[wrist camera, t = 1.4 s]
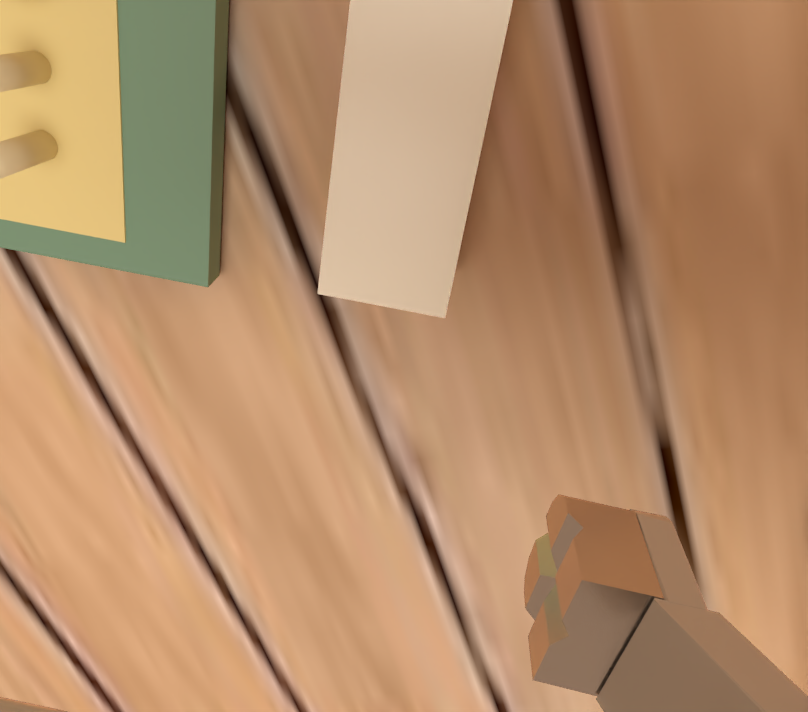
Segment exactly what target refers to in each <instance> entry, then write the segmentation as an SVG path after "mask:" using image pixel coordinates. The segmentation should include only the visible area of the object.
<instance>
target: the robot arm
mask: <svg viewBox="0 0 808 712" xmlns="http://www.w3.org/2000/svg"><path fill="white" fill-rule="evenodd" d="M546 519H547V526H548V533H547V534H545V535H544V536H542V537H540V538H539V539H537V540H536V541H535V543H534V546H533V549H532V551H531V554H530V556H529V559H528V564H527V569H526V574H525V583H524V598H525V608H526V610H527V611H528V612H529V614H530V615H531V616H532V617H533V619H534V620H535V622H534V624H533V626H532V628H531V630H530V633H529V635H528V640H529V649H530V659H531V668H532V677H533V680H535V681H539V682H543V683H547V684H551V685H555V686H559V687H563V688H567V689H571V690H575V691H579V692H583V693H587V694H591V695H595V696H597V698H596V700H597V701H598V703H599V705H600V706H601V708H602V709H603V711H604V712H808V696H807V695H806V694H805V693H804V692H803V691H802V690H801V689H799V688H798V687H797V686H796V685H795V684H794V683H793V682H792V681H791V680H790V679H789V678H788V677H787V676H786V675H785V674H784V673H783V672H781V671H780V670H779V669H778V668H777V667H776V666H775V665H774V664H773V663H772V662H771V661H770V660H769V659H768V658H767V657H766V656H764V655H763V654H762V653H761V652H760V651H759V650H758V649H757V648H756V647H755V646H754V645H753V644H752V643H751V642H750V641H749V640H748V639H746V638H745V637H744V636H743V635H742V634H741V633H740V632H739V631H738V630H737V629H736V628H735V627H734V626H733V625H732V624H731V623H730V622H728V621H727V620H726V619H725V618H724V617H723V616H722V615H721V614H720V613H718V612H714V611H710V610H708V609H707V607H706V604H705V602H704V599H703V597H702V594H701V592H700V589H699V587H698V585H697V582H696V580H695V577H694V575H693V572H692V570H691V567H690V565H689V562H688V560H687V557H686V555H685V552H684V550H683V547H682V545H681V542H680V540H679V537H678V535H677V533H676V530H675V528H674V525H673V523H672V522H671V521H670V520H669V519H668V518H667V517H666V516H661V515H656V514H651V513H647V512H642V511H637V510H632V509H630V510H626V509H621V508H617V507H613V506H608V505H604V504H599V503H595V502H590V501H586V500H581V499H577V498H573V497H568V496H564V495H559V494H558V496H557V497H556V498H555V499H554V501H553V502H552V504H551V506H550V508H549V511H548V513H547V515H546ZM0 712H68V711H63V710H58V709H54V708H49V707H44V706H40V705H35V704H30V703H26V702H21V701H16V700H12V699H7V698H3V697H0Z"/></svg>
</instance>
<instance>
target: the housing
mask: <svg viewBox="0 0 808 712" xmlns="http://www.w3.org/2000/svg"><path fill="white" fill-rule="evenodd" d="M512 4H513V0H350V6H349V15H348V24H347V33H346V42H345V51H344V60H343V69H342V78H341V87H340V96H339V105H338V114H337V123H336V132H335V141H334V150H333V159H332V168H331V177H330V186H329V195H328V204H327V213H326V222H325V231H324V240H323V249H322V258H321V267H320V276H319V285H318V294H321V295H326V296H332V297H337V298H342V299H347V300H352V301H358V302H363V303H368V304H373V305H378V306H384V307H389V308H394V309H399V310H404V311H410V312H415V313H420V314H425V315H430V316H436V317H441V318H445V317H446V312H447V307H448V303H449V298H450V293H451V289H452V284H453V279H454V275H455V270H456V265H457V261H458V256H459V251H460V247H461V242H462V237H463V233H464V228H465V223H466V219H467V214H468V209H469V205H470V200H471V195H472V191H473V186H474V181H475V177H476V172H477V167H478V163H479V158H480V153H481V149H482V144H483V139H484V135H485V130H486V125H487V121H488V116H489V111H490V107H491V102H492V97H493V93H494V88H495V83H496V79H497V74H498V69H499V65H500V60H501V55H502V50H503V46H504V41H505V36H506V32H507V27H508V22H509V18H510V13H511V8H512Z"/></svg>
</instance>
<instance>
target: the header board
mask: <svg viewBox="0 0 808 712" xmlns="http://www.w3.org/2000/svg"><path fill="white" fill-rule="evenodd" d="M228 15H229V0H0V247H2V248H7V249H12V250H17V251H22V252H28V253H33V254H38V255H43V256H48V257H54V258H59V259H64V260H69V261H74V262H80V263H85V264H90V265H95V266H100V267H106V268H111V269H116V270H121V271H126V272H132V273H137V274H142V275H147V276H152V277H158V278H163V279H168V280H173V281H178V282H184V283H189V284H194V285H199V286H204V287H209V286H210V285H211V284H212V282H213V281H214V280H215V279H216V278H217V277H218V276H219V273H220V244H221V216H222V187H223V158H224V130H225V101H226V72H227V44H228Z"/></svg>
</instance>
